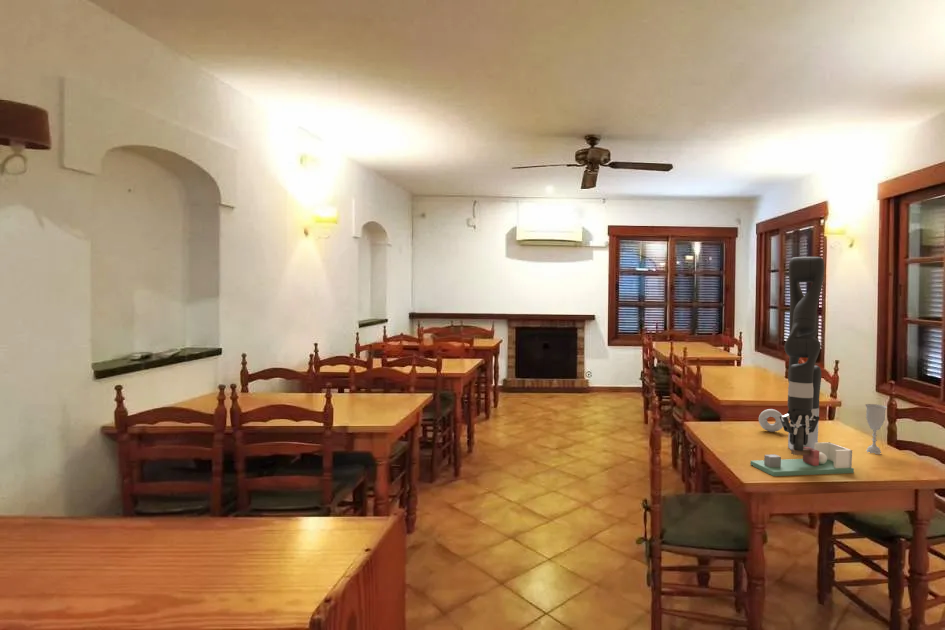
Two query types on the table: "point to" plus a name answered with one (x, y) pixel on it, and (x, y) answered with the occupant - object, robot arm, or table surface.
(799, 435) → the slider rod
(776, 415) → the donut
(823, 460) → the ball
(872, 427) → the chalice
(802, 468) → the playfield
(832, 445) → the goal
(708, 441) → the table surface
